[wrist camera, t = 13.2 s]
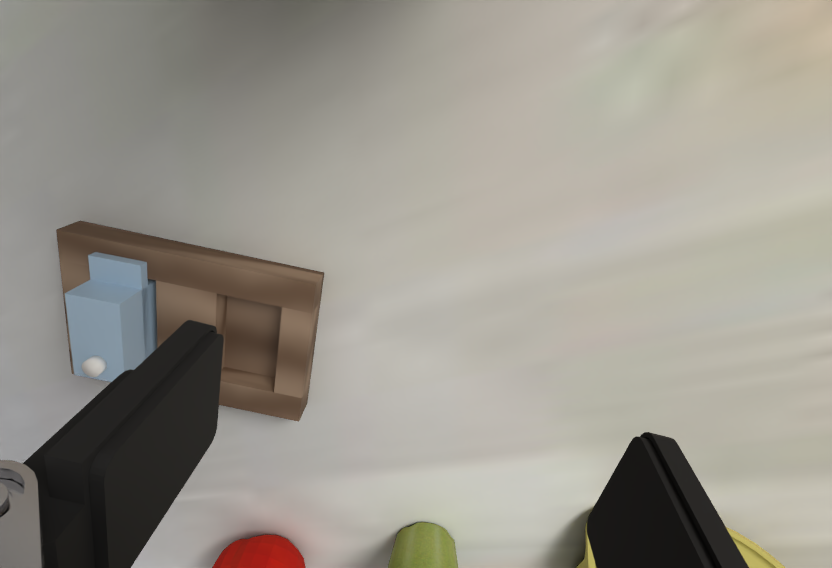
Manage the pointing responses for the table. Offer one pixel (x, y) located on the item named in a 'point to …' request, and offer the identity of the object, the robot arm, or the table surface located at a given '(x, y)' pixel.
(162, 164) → the table surface
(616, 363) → the table surface
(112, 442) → the robot arm
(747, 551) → the plastic component
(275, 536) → the tomato
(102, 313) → the light blue drawer box
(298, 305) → the tray
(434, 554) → the plant pot
